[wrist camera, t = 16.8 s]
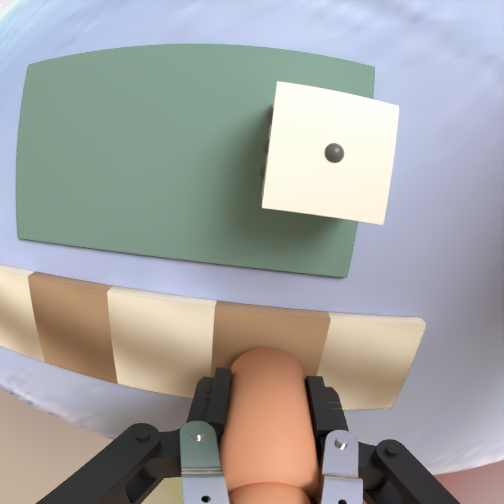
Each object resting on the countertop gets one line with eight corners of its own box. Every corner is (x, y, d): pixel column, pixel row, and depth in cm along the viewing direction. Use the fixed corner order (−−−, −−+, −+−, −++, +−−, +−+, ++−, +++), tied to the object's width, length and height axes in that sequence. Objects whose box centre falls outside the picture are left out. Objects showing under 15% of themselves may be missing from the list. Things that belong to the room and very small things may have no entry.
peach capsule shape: (232, 343, 14) (205, 524, 5) (309, 350, 14) (346, 526, 5) (227, 399, 15) (205, 557, 6) (296, 405, 15) (312, 560, 6)
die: (267, 103, 12) (270, 78, 8) (362, 119, 12) (401, 105, 8) (256, 198, 14) (254, 214, 10) (350, 211, 14) (384, 232, 10)
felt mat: (31, 65, 12) (28, 64, 12) (372, 68, 12) (375, 67, 12) (20, 236, 15) (17, 238, 14) (345, 275, 15) (347, 277, 15)
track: (-19, 259, 15) (-26, 263, 15) (420, 317, 15) (426, 324, 15) (-2, 336, 17) (-9, 341, 16) (388, 400, 17) (392, 407, 16)
